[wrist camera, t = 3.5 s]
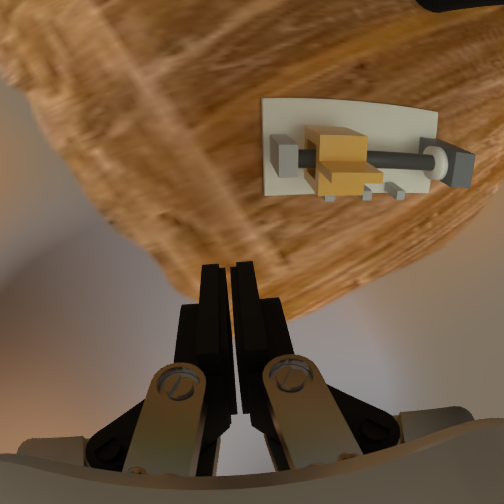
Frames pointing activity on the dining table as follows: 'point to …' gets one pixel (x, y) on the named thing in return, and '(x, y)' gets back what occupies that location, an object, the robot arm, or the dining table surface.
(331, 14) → the dining table surface
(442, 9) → the black water bottle
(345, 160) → the sleeve
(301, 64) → the dining table surface
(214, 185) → the dining table surface
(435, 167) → the linear slide rail
